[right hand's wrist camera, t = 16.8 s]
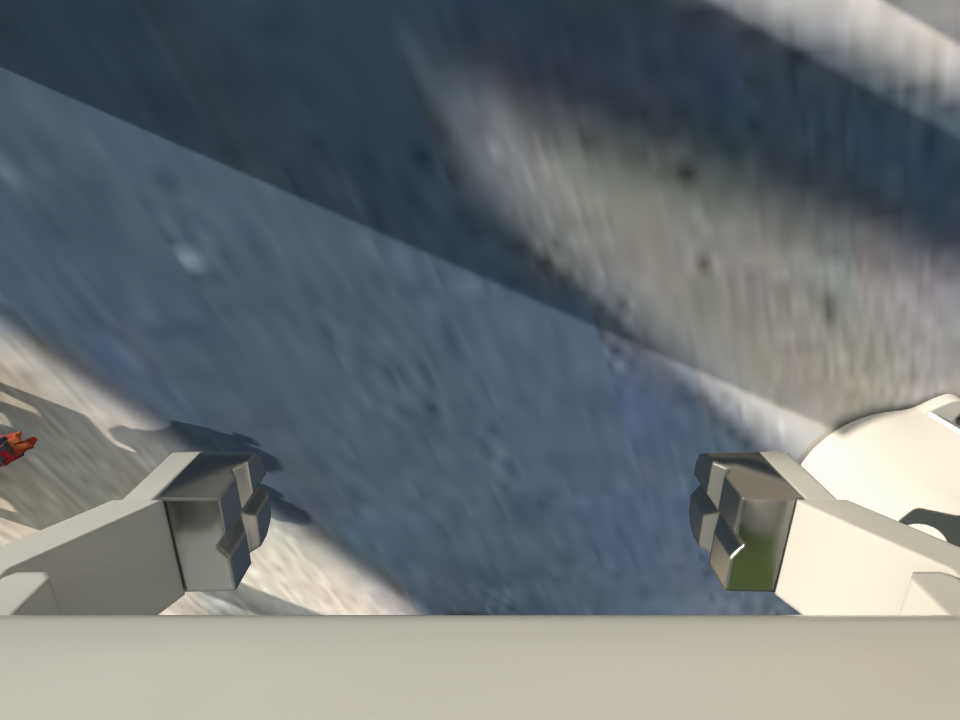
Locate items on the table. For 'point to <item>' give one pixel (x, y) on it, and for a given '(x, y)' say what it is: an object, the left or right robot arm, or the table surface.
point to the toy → (13, 447)
